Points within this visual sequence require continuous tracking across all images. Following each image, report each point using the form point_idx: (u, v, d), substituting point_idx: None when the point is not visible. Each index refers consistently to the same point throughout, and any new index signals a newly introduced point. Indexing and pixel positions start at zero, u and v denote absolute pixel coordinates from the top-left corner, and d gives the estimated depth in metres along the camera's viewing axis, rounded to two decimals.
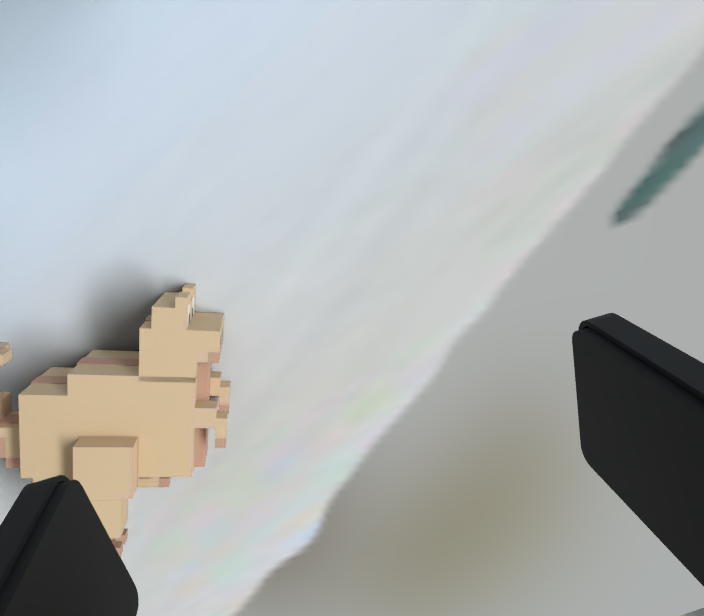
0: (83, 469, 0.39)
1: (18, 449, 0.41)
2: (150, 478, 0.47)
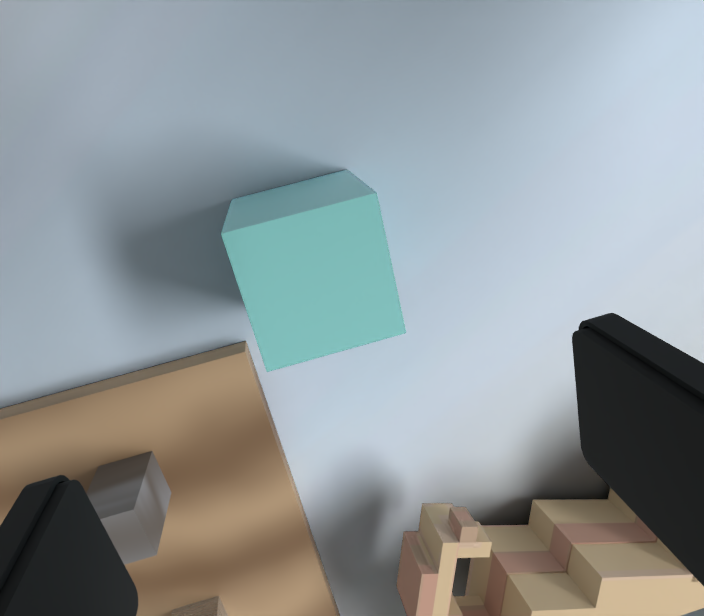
0: None
1: None
2: None
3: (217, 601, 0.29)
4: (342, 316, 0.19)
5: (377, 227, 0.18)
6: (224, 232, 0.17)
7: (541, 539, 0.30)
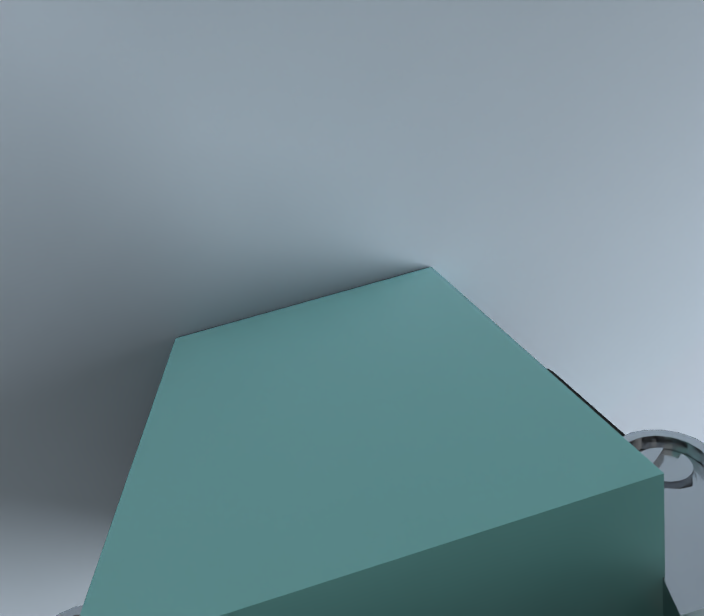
0: None
1: None
2: None
3: None
4: None
5: (643, 573, 0.05)
6: None
7: None
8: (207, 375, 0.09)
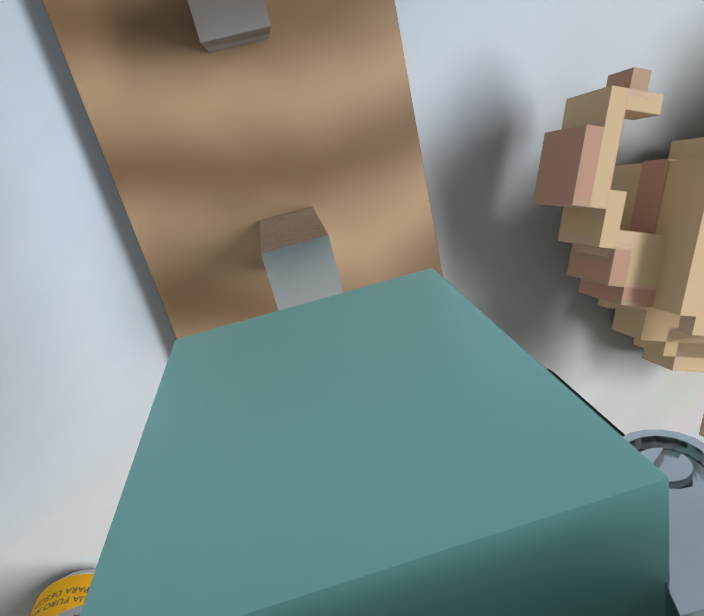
0: None
1: (645, 273, 0.24)
2: None
3: (312, 207, 0.25)
4: None
5: (648, 578, 0.05)
6: None
7: None
8: (207, 377, 0.08)
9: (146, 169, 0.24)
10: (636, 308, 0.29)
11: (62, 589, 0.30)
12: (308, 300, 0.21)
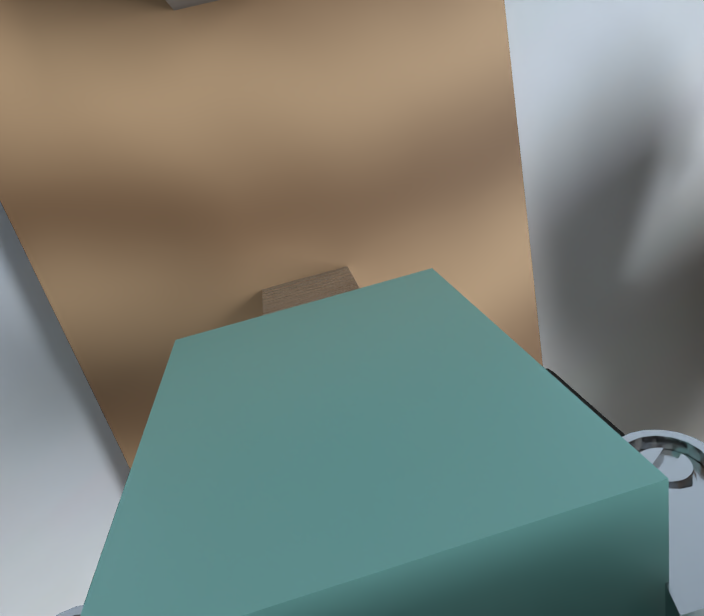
0: None
1: None
2: None
3: (347, 270, 0.16)
4: None
5: (647, 579, 0.05)
6: None
7: None
8: (207, 377, 0.08)
9: (69, 210, 0.14)
10: None
11: None
12: None
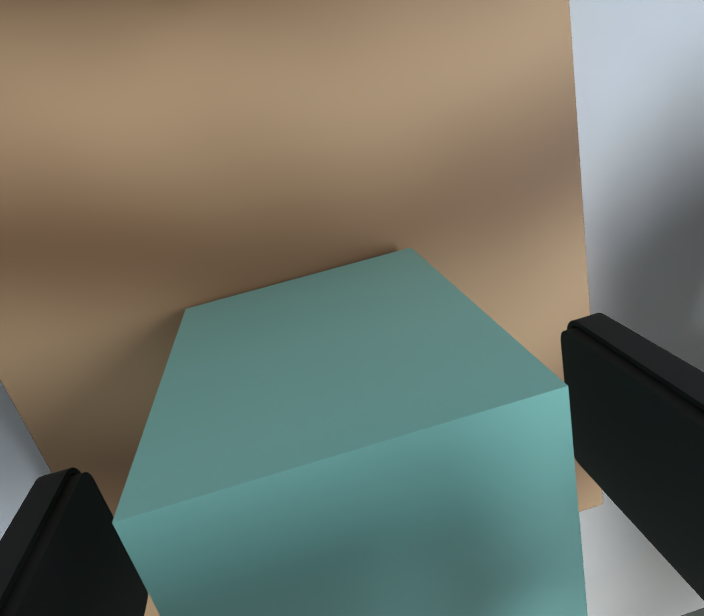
0: None
1: None
2: None
3: None
4: None
5: (558, 469, 0.06)
6: (124, 514, 0.06)
7: None
8: (214, 335, 0.10)
9: (13, 247, 0.11)
10: None
11: None
12: None
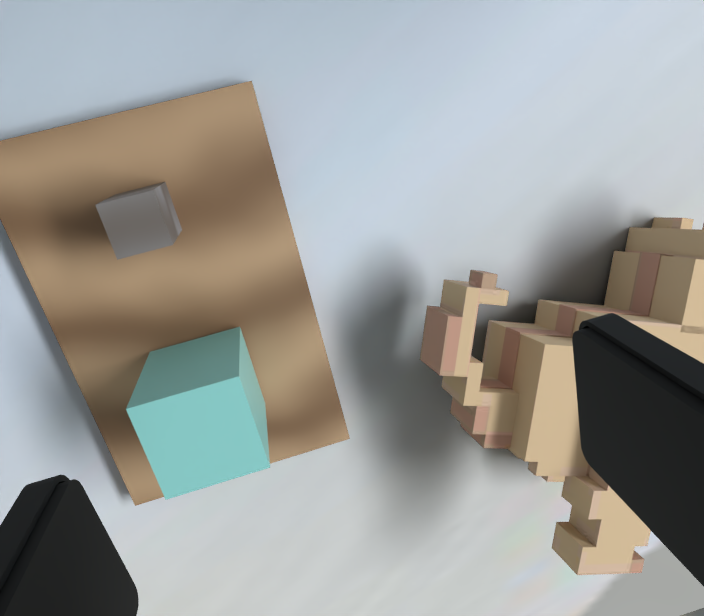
0: None
1: (502, 423, 0.30)
2: None
3: None
4: (220, 458, 0.26)
5: (241, 398, 0.25)
6: (128, 407, 0.24)
7: (547, 327, 0.34)
8: (158, 362, 0.28)
9: (84, 329, 0.29)
10: None
11: None
12: None
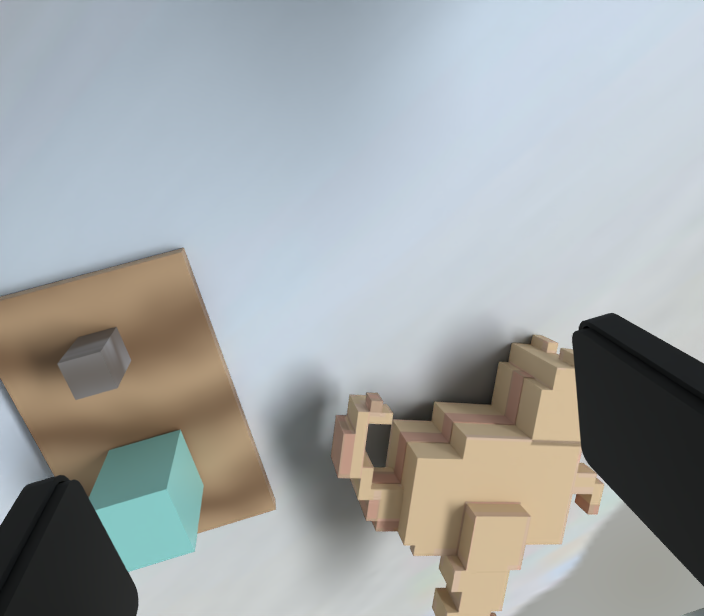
0: (481, 539, 0.36)
1: (390, 512, 0.38)
2: None
3: None
4: (155, 546, 0.34)
5: (169, 504, 0.33)
6: None
7: (438, 427, 0.41)
8: (113, 464, 0.37)
9: (56, 434, 0.38)
10: None
11: None
12: None
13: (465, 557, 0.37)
